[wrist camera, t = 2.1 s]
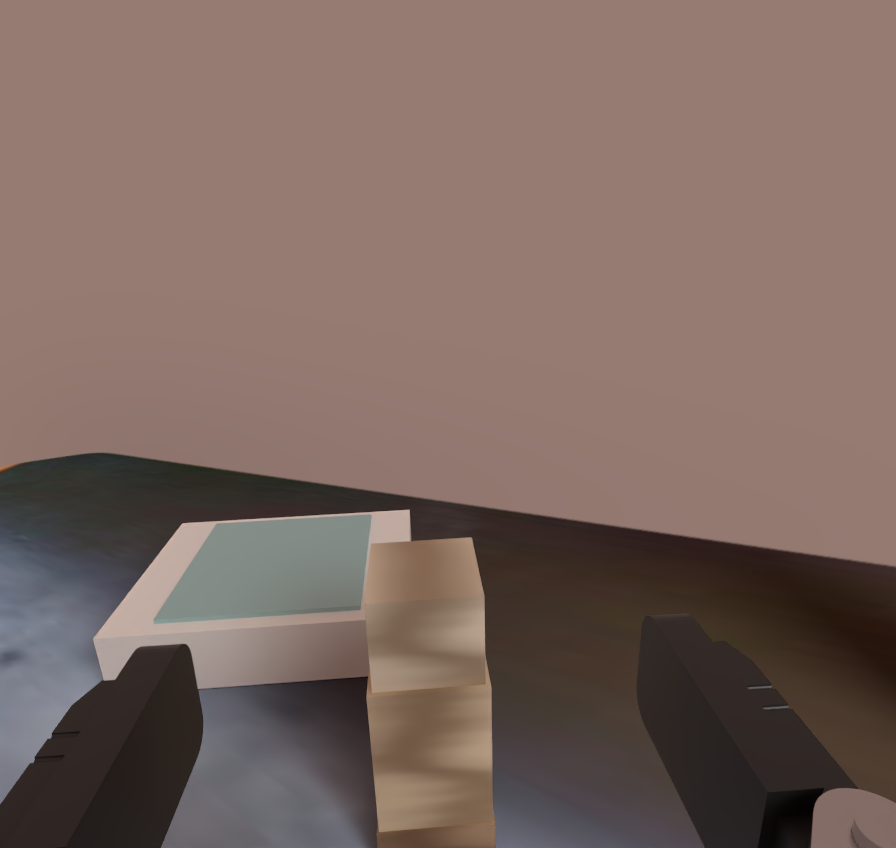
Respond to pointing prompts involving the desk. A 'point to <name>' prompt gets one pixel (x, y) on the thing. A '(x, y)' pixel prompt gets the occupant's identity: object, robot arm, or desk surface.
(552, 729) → the desk surface
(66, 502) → the desk surface
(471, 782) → the wooden block tower
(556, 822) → the desk surface
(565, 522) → the desk surface
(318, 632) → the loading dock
